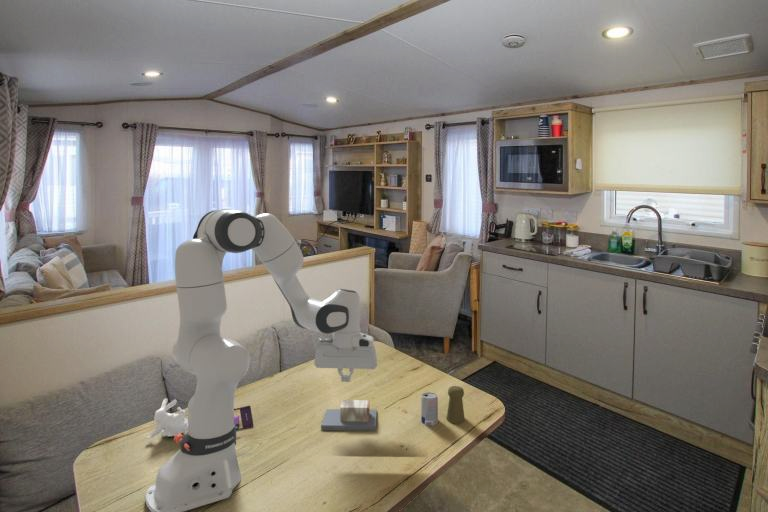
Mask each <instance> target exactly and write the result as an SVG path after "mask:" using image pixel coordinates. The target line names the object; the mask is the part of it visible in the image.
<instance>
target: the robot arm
mask: <svg viewBox="0 0 768 512" xmlns="http://www.w3.org/2000/svg"><path fill="white" fill-rule="evenodd" d="M249 250H252V251H253V252H254V253H255V255H256V256H257V259H259V261H260V262H261V263H262V265H263V266H264V268H265V269H266V271H268V273H269V274H270V275H271V277H272V279H273V280H274V282H275V284H276V285H277V287H278V289H279V290H280V292H281V294H282V296H283V297H284V299H285V300H286V302H287V304H288V305H289V308H290V312H291V317H292V319H293V322H294V324H295V325H296V326H298V327H299V328H301V329H305V330H310V331H314V332H316V333H321V334H326V335H328V334H329V335H330V334H332V338H322V337H321V338H318V339H316V340H315V341H314V343H313V345H314V346H313V350H314V351H315V354H314V366H315V367H316V369H317V368H318V369H337V372H338V374H339V376H340V381H341V382H342V383H343V382H345V383H346V382H347V383H350V382H351V380H352V379H351V377H352V375H353V373H354V371H355V370H356V369H357V370H358V369H359V370H366V369H367V370H375V369H376V368H377V367H378V353H377V348H376V346H375V345H374V341H375V340H374V337H373V336H372V335H369V334H366V333H363V332H361V326H360V320H361V300H360V295H359V293H358V292H357V291H355V290H352V289H351V290H350V289H345V288H336V289H335V291H334V292H333V294H331V295H330V296H329V297H326V299H325V298H324V299H323V300H320V299H316V298H314V297H311V296H310V295H309V294H308V293H307V292H306V291H305V289H304V287H303V285H302V284H301V282H300V280H299V279H298V277H297V273H298V272H300V271H301V269H302V267H303V263H304V255H303V253H302V250H301V248H300V246H299V244H298V243H297V241H296V239H295V238H294V237H293V235H292V234H291V232H289V230H288V229H287V227H286V226H285V225H284V224H283V223H282V222H281V221H280V220H279V219H278V218H277V217H276V215H274V214H272V213H268V212H267V213H266V212H265V213H260V214H257V215H255V216H254V215H251V214H250V213H247V212H246V211H243V210H238V209H236V210H235V209H230V208H222V209H216V210H211V211H209V212H207V213H205V214H204V215H203V216H202V217H201V219H200V220H199V221H198V225H197V227H196V230H195V231H194V234H193V236H192V238H191V239H188V240H186V241H183V242H182V243H180V244H179V245H178V246H177V248H176V249H175V257H174V259H175V260H174V275H175V286H176V293H177V302H178V310H179V328H178V336H177V337H178V338H177V339H176V341H175V342H174V345H173V347H172V356H173V360H174V361H175V362H176V363H177V364H178V366H179V367H180V368H181V369H182V370H184V371H186V372H188V373H190V374H192V375H195V378H196V386H195V392H194V395H193V396H192V397H191V398H190V399H189V401H188V403H187V404H188V405H187V421H188V430H187V431H186V434H185V435H183V434H182V433H181V434H180V433H179V434H176V435H175V436H173V437H174V438H173V440H174V441H175V442H176V444H179V445H180V449H178V451H176V453H175V454H174V455H172V457H170V458H169V459H168V460H167V461H166V462H165V463H163V465H162V466H160V468H159V469H158V471H157V474H156V475H157V476H156V478H155V479H156V480H155V484H153V485H150V487H148V488H147V490H146V492H145V504H146V506H147V508H148V509H149V510H150V511H149V512H186V511H189V510H193V509H196V508H199V507H202V506H206V505H208V504H209V505H210V504H213V503H216V502H219V501H221V500H226V499H228V498H230V497H231V495H232V493H233V490H234V489H235V488H236V487H237V485H239V483H240V482H241V480H242V473H241V469H240V465H239V461H238V456H237V451H236V445H237V430H236V425H235V424H234V415H235V411H234V409H235V395H236V392H237V388H238V384H239V382H240V381H241V379H243V378H244V377H245V375H246V374H247V373H248V370H249V367H250V365H251V363H250V362H251V358H250V353H249V352H248V350H247V349H246V348H245V347H244V346H242V345H241V344H240V343H239V342H238V341H236V340H234V339H232V338H228V337H224V336H222V334H221V322H222V318H223V316H224V315H225V314H226V312H227V309H228V305H227V304H228V303H227V296H226V289H225V281H224V274H223V261H224V259H225V256H226V254H227V253H233V254H239V253H240V254H241V253H244V252H247V251H249ZM343 369H348V372H349V374H344V372H343Z"/></svg>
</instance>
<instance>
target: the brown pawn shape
mask: <svg viewBox="0 0 768 512" xmlns="http://www.w3.org/2000/svg"><path fill="white" fill-rule="evenodd" d="M464 390H465V389H463V387H461V386H459V385H452V386H449V387H448V389H447V394H448V396H449V399H448V405H447V411H446V412H447V414H446V420H447V422H448V423H450V424H454V425H461V424H464V423H465V422H466V421H465V411H464V402H463V397H464V395H465V391H464Z"/></svg>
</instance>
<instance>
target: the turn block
mask: <svg viewBox="0 0 768 512" xmlns="http://www.w3.org/2000/svg"><path fill="white" fill-rule="evenodd" d="M339 409H340V421H361V422H369V410H370V399H369V400H367V399H363V400H361V399H342V400H341V404H340V407H339Z"/></svg>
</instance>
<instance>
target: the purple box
mask: <svg viewBox="0 0 768 512" xmlns="http://www.w3.org/2000/svg"><path fill="white" fill-rule="evenodd" d="M238 410H239V414H240V415H236V414H234V424H235V425H236V431H240V430H245V429H249V428H254V421H253V414H252V408H251V405H246V406H242V407H237V408H234V412H235V411H238ZM240 420H241V421H240ZM240 422H241V425H242V426H241V428H240V426H239V423H240Z"/></svg>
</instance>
